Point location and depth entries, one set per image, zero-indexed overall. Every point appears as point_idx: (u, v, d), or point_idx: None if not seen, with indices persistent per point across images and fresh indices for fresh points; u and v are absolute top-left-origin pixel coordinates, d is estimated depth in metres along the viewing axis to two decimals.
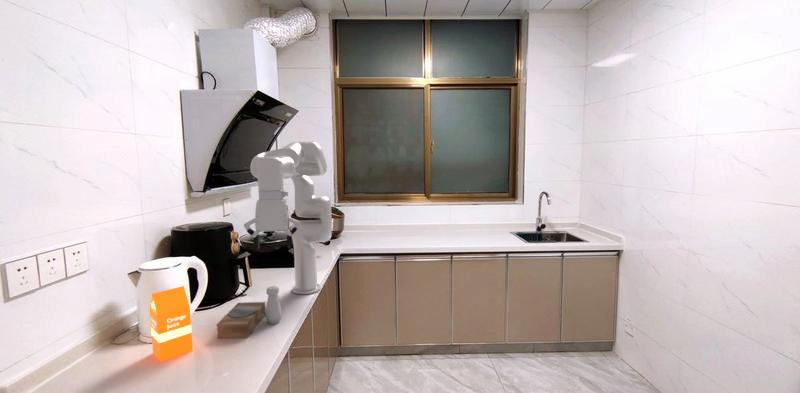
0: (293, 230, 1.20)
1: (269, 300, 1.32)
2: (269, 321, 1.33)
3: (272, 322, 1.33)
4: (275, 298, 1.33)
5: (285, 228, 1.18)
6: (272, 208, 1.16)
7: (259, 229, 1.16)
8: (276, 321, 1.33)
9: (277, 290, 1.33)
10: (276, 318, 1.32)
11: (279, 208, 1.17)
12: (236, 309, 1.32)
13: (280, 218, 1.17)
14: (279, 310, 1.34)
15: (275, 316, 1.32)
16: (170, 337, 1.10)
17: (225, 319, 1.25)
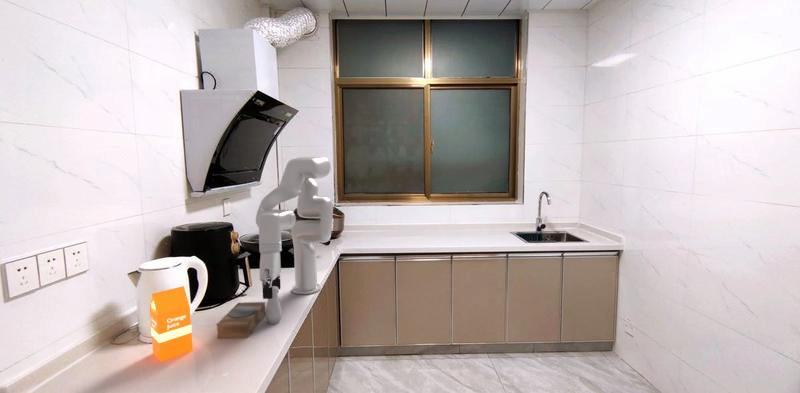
0: None
1: (269, 300, 1.32)
2: (269, 321, 1.33)
3: (272, 322, 1.33)
4: (275, 298, 1.33)
5: None
6: (278, 256, 1.33)
7: (274, 278, 1.29)
8: (276, 321, 1.33)
9: (277, 290, 1.33)
10: (276, 318, 1.32)
11: (279, 255, 1.35)
12: (236, 309, 1.32)
13: (279, 264, 1.35)
14: (279, 310, 1.34)
15: (275, 316, 1.32)
16: (170, 337, 1.10)
17: (225, 319, 1.25)
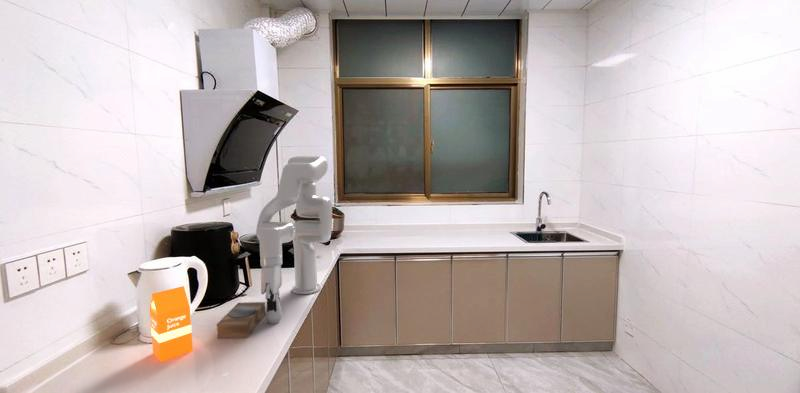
0: None
1: None
2: (269, 321, 1.33)
3: (272, 322, 1.33)
4: (275, 298, 1.33)
5: None
6: (279, 269, 1.33)
7: (275, 291, 1.30)
8: (276, 321, 1.33)
9: None
10: (276, 318, 1.32)
11: (280, 268, 1.36)
12: (236, 309, 1.32)
13: (280, 276, 1.36)
14: (279, 310, 1.34)
15: (275, 316, 1.32)
16: (170, 337, 1.10)
17: (225, 319, 1.25)
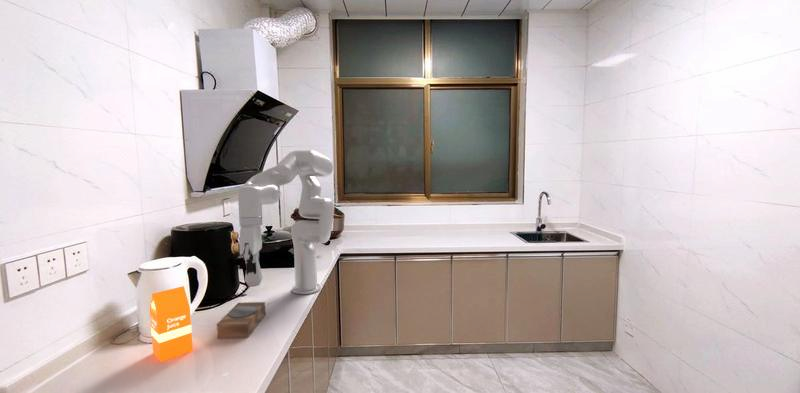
0: None
1: None
2: (248, 284, 1.29)
3: (252, 285, 1.29)
4: (255, 260, 1.29)
5: (261, 247, 1.34)
6: (259, 231, 1.30)
7: (254, 252, 1.26)
8: (256, 284, 1.29)
9: (257, 252, 1.29)
10: (255, 280, 1.29)
11: (260, 230, 1.32)
12: (236, 309, 1.32)
13: (261, 239, 1.32)
14: (259, 273, 1.30)
15: (255, 279, 1.29)
16: (170, 337, 1.10)
17: (225, 319, 1.25)
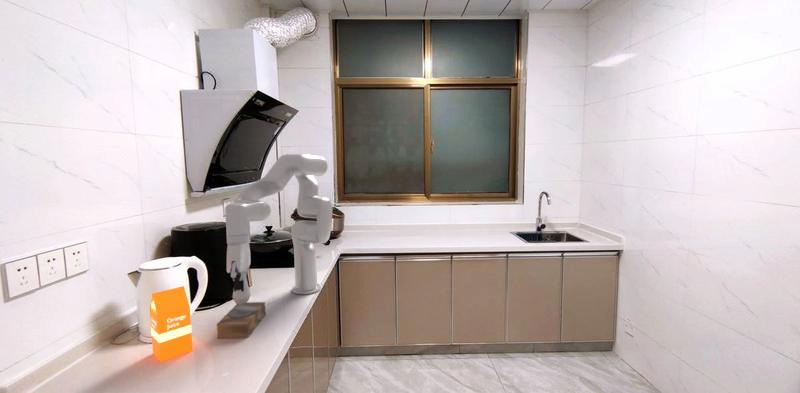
0: None
1: None
2: (236, 301, 1.28)
3: (239, 302, 1.28)
4: (242, 277, 1.28)
5: None
6: (247, 248, 1.29)
7: (241, 270, 1.26)
8: (243, 301, 1.29)
9: None
10: (243, 298, 1.28)
11: (248, 247, 1.31)
12: (236, 309, 1.32)
13: (249, 256, 1.32)
14: (247, 290, 1.29)
15: (242, 296, 1.28)
16: (170, 337, 1.10)
17: (225, 319, 1.25)
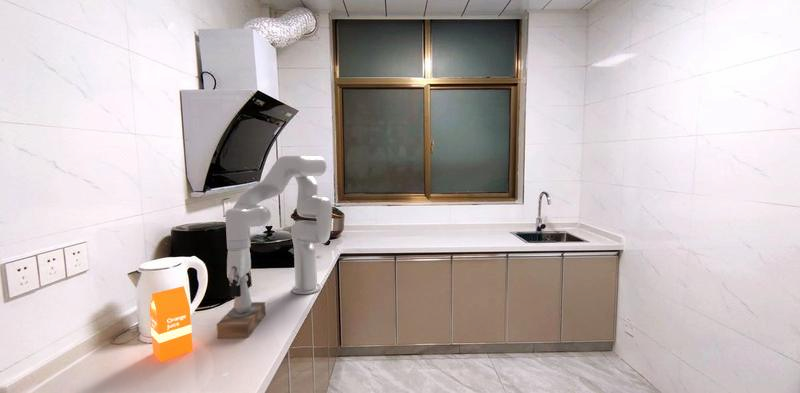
0: None
1: None
2: (237, 310, 1.29)
3: (240, 311, 1.29)
4: (244, 286, 1.29)
5: (250, 269, 1.34)
6: (247, 253, 1.29)
7: (242, 276, 1.26)
8: (245, 310, 1.29)
9: (246, 278, 1.29)
10: (244, 307, 1.29)
11: (249, 252, 1.31)
12: None
13: (249, 261, 1.32)
14: (248, 299, 1.30)
15: (244, 305, 1.29)
16: (170, 337, 1.10)
17: (225, 319, 1.25)
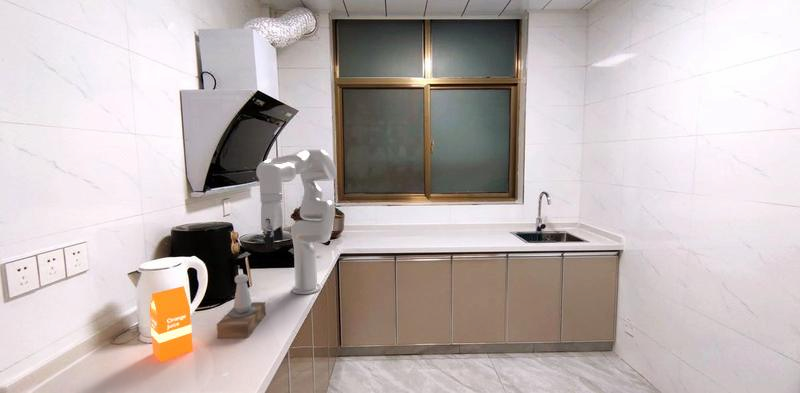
0: None
1: (237, 288, 1.29)
2: (237, 310, 1.29)
3: (240, 311, 1.29)
4: (244, 286, 1.29)
5: None
6: (279, 207, 1.34)
7: (275, 228, 1.31)
8: (245, 310, 1.29)
9: (246, 278, 1.29)
10: (244, 307, 1.29)
11: (280, 207, 1.36)
12: None
13: (281, 215, 1.37)
14: (248, 299, 1.30)
15: (244, 305, 1.29)
16: (170, 337, 1.10)
17: (225, 319, 1.25)
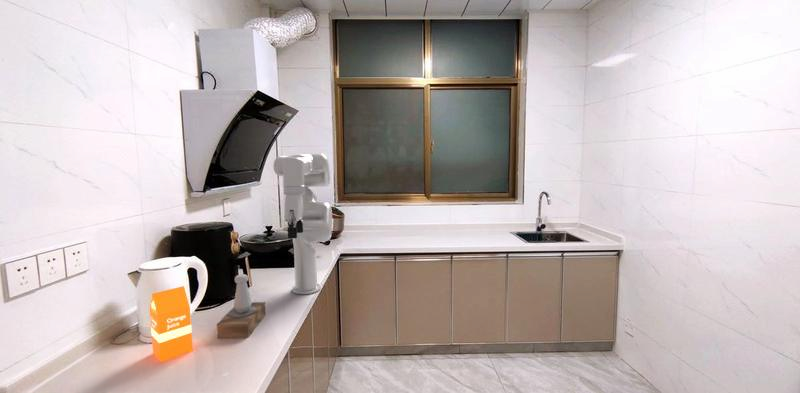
0: None
1: (237, 288, 1.29)
2: (237, 310, 1.29)
3: (240, 311, 1.29)
4: (244, 286, 1.29)
5: None
6: (301, 200, 1.39)
7: (298, 219, 1.35)
8: (245, 310, 1.29)
9: (246, 278, 1.29)
10: (244, 307, 1.29)
11: (302, 199, 1.41)
12: None
13: (302, 207, 1.42)
14: (248, 299, 1.30)
15: (244, 305, 1.29)
16: (170, 337, 1.10)
17: (225, 319, 1.25)
